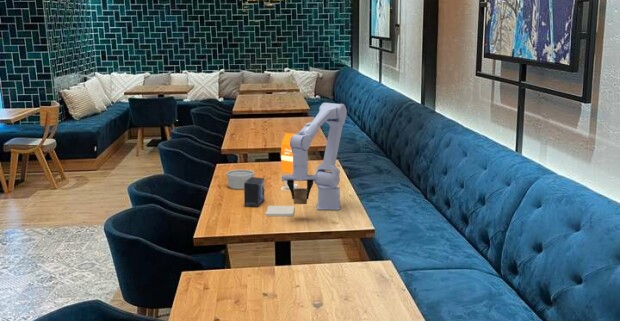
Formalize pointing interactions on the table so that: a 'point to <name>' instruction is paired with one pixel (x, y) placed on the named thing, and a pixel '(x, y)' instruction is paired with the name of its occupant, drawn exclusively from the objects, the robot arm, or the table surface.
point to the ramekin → (238, 178)
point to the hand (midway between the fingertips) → (300, 198)
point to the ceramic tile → (280, 211)
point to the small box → (254, 192)
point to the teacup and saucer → (288, 186)
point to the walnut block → (300, 195)
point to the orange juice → (287, 154)
